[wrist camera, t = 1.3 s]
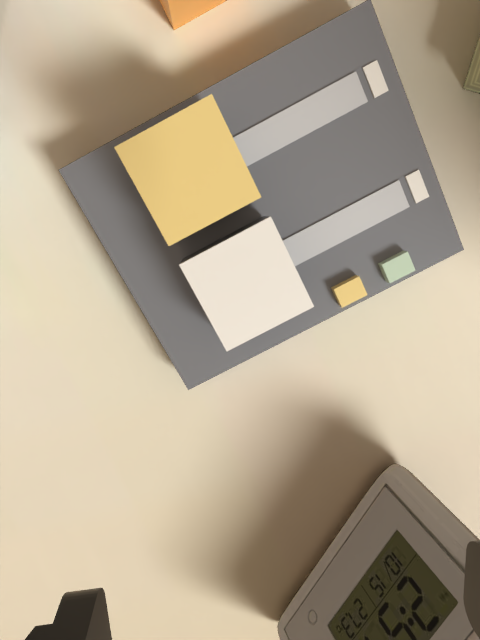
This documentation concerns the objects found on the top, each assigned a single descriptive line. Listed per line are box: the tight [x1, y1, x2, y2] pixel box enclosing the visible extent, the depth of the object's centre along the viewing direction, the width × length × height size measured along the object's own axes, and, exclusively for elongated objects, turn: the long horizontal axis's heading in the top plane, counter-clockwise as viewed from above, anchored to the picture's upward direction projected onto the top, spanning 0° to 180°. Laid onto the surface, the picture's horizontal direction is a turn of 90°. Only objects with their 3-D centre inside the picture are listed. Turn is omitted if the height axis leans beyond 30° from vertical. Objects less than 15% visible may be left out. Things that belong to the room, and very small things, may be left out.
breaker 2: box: [179, 216, 314, 351], centre depth 23 cm, size 5×5×3 cm
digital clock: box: [278, 464, 480, 640], centre depth 27 cm, size 16×9×11 cm, turn 139°
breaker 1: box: [114, 94, 261, 246], centre depth 22 cm, size 5×5×3 cm
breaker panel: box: [59, 0, 464, 390], centre depth 25 cm, size 18×14×3 cm
